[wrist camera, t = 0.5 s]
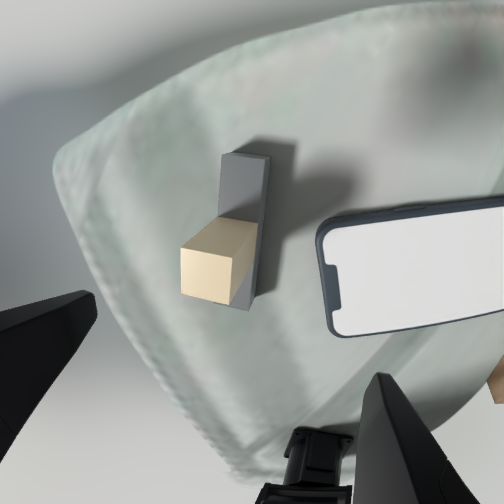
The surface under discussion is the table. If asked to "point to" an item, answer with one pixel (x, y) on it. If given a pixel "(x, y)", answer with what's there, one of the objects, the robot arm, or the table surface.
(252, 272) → the scraper
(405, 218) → the smartphone
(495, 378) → the walnut bar
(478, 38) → the table surface
